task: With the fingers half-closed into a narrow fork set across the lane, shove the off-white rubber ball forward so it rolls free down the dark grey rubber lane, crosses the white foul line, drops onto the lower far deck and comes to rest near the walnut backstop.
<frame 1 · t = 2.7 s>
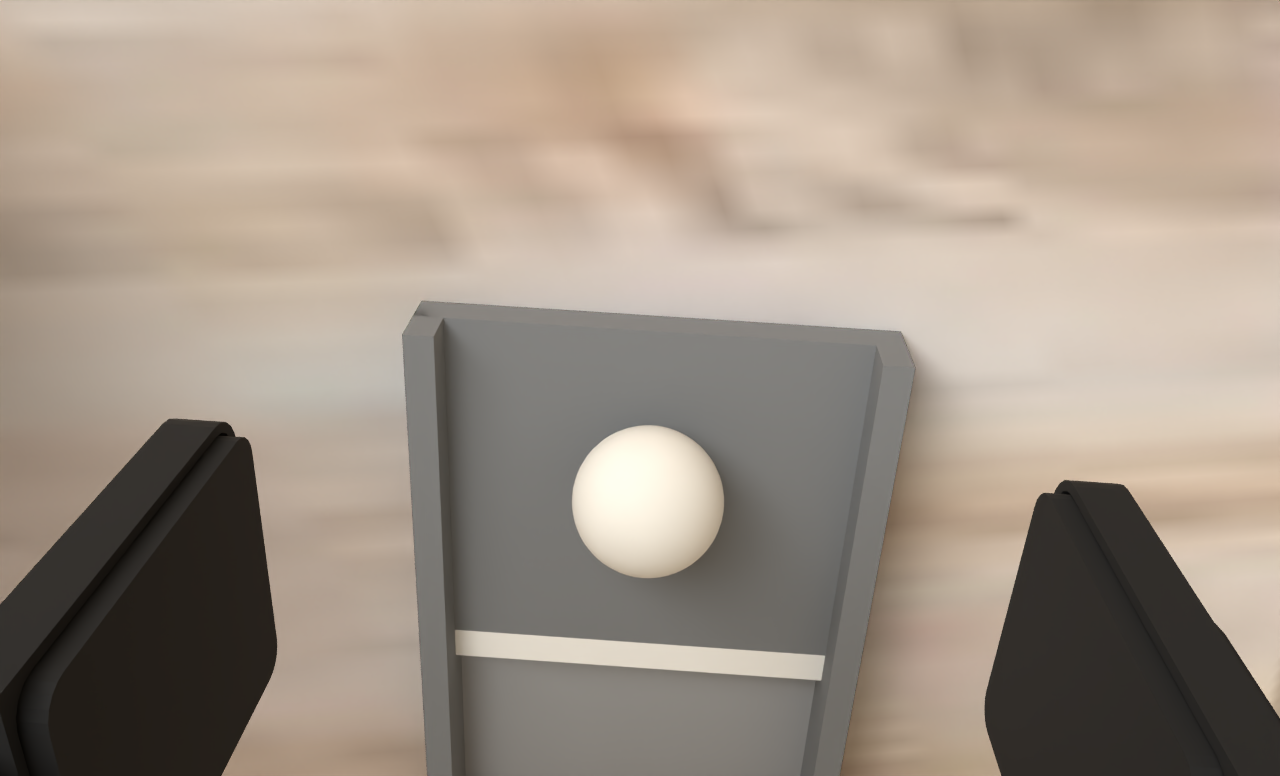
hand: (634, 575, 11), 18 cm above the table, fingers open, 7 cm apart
ball: (648, 501, 29), point 3 cm above the table, touching lane
lane: (641, 608, 34), on the table
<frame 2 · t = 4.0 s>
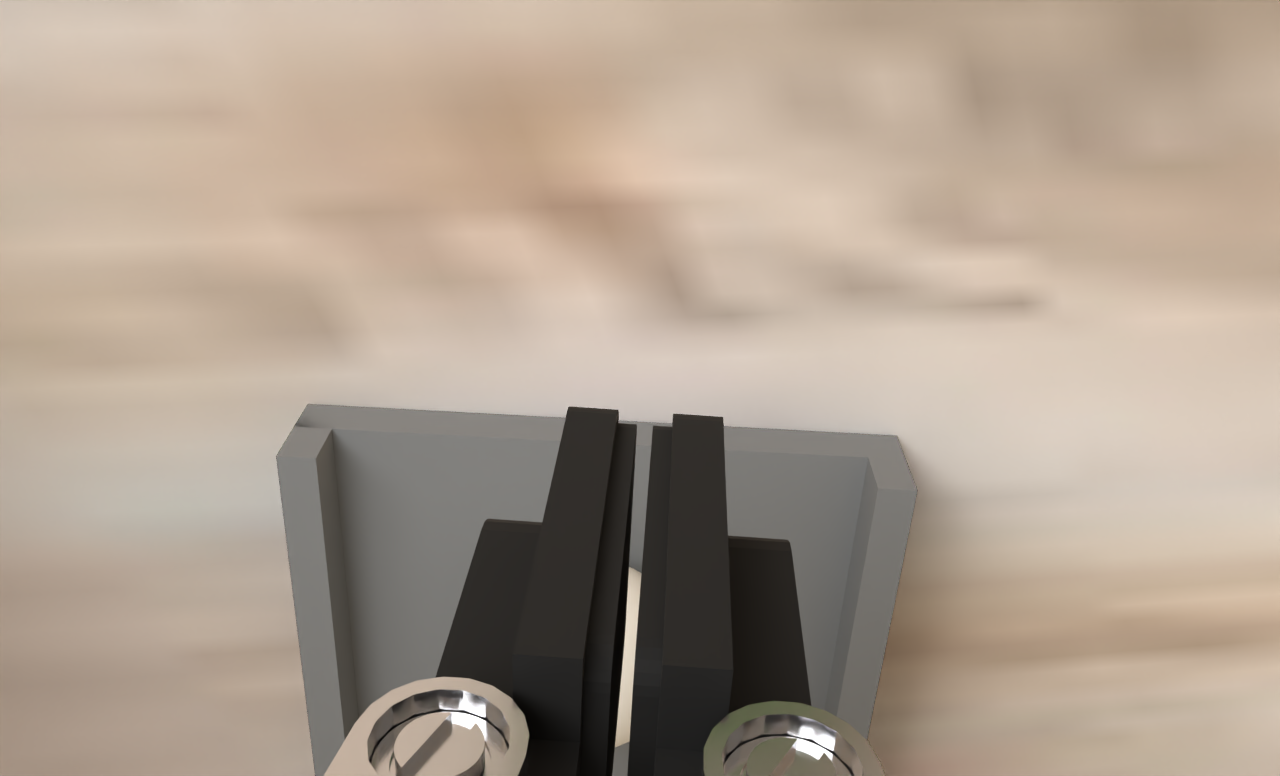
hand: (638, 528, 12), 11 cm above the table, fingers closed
ball: (589, 652, 23), point 3 cm above the table, touching lane
lane: (589, 750, 29), on the table
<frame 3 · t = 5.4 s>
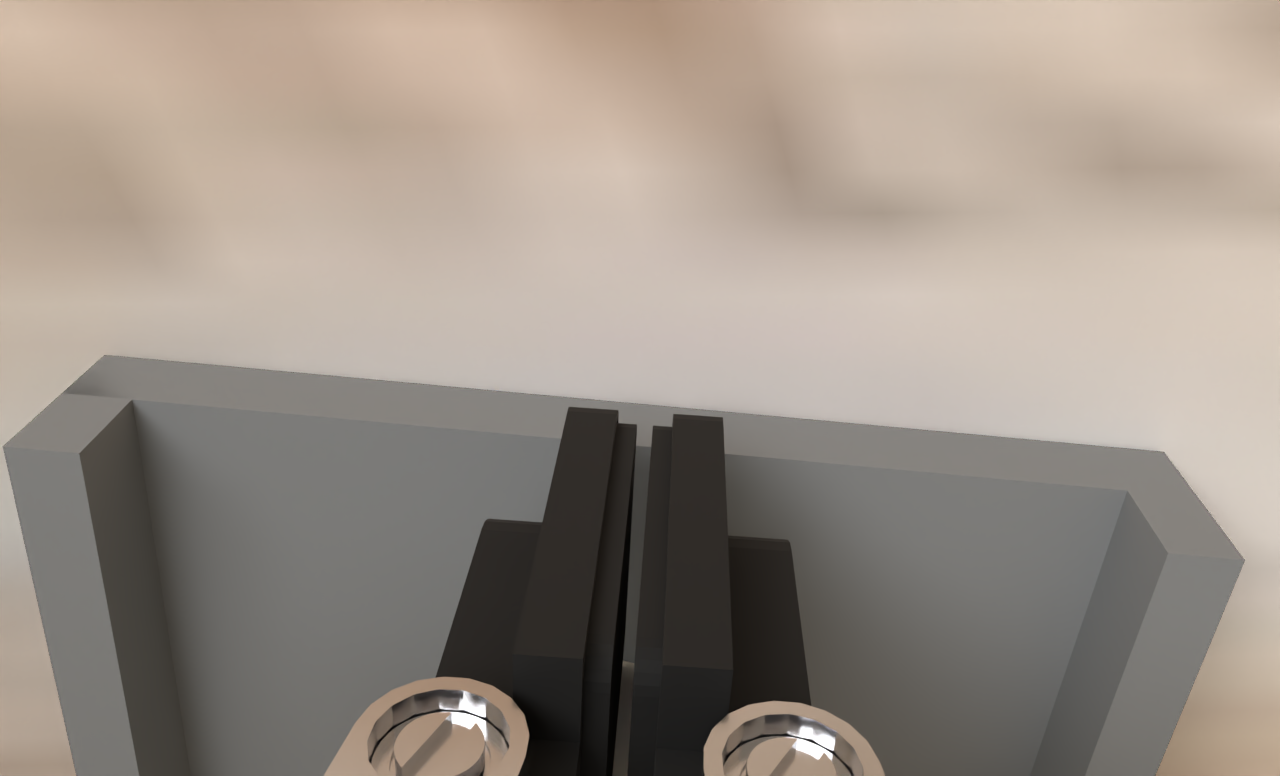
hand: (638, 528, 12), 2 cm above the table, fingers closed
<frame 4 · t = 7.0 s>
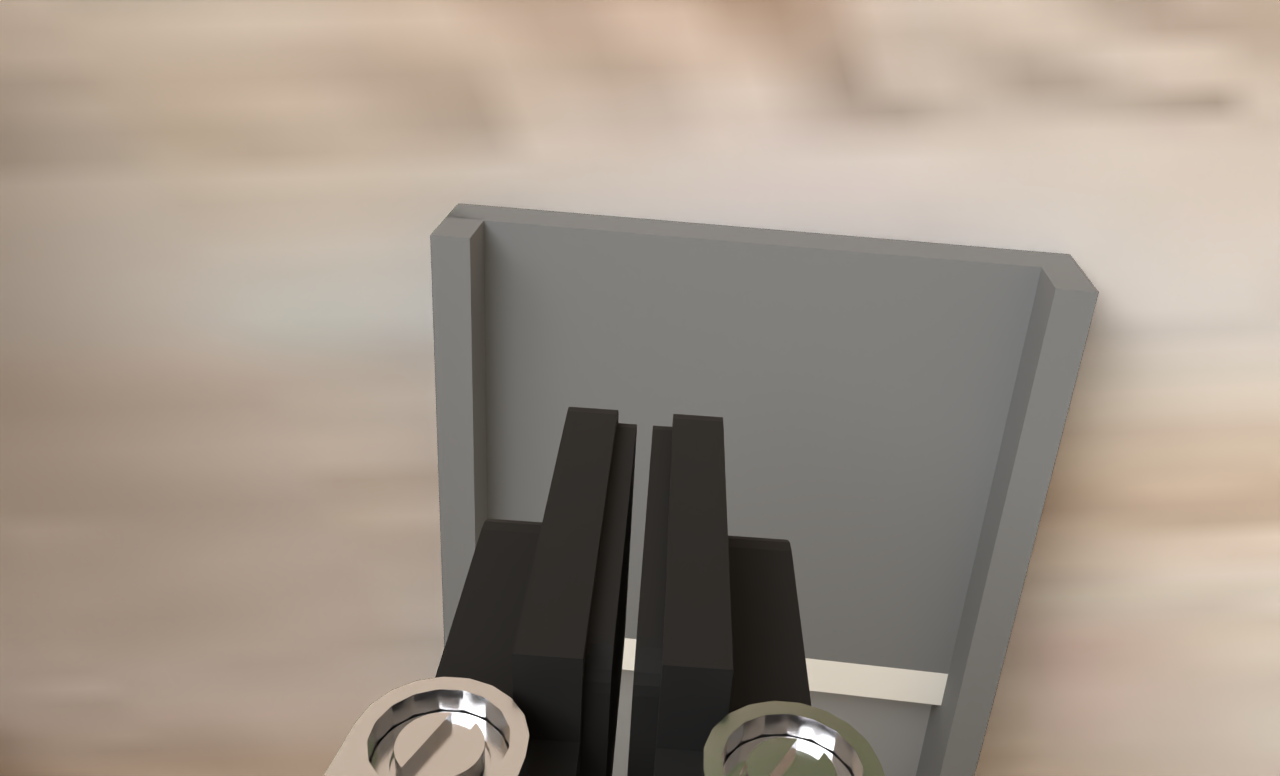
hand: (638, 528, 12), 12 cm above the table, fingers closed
lane: (718, 606, 28), on the table
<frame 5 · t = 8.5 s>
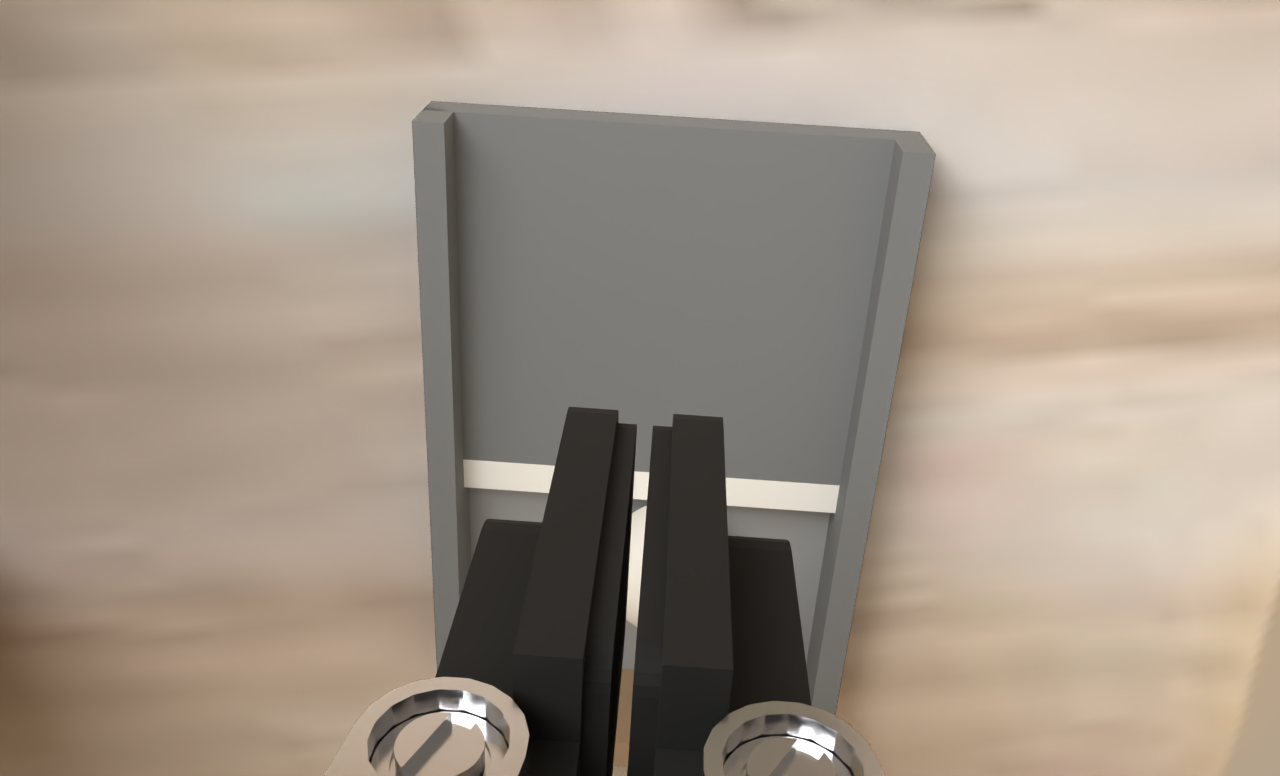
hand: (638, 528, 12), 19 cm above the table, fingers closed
ball: (668, 568, 33), point 2 cm above the table, tilted 98°, touching lane
lane: (653, 441, 33), on the table
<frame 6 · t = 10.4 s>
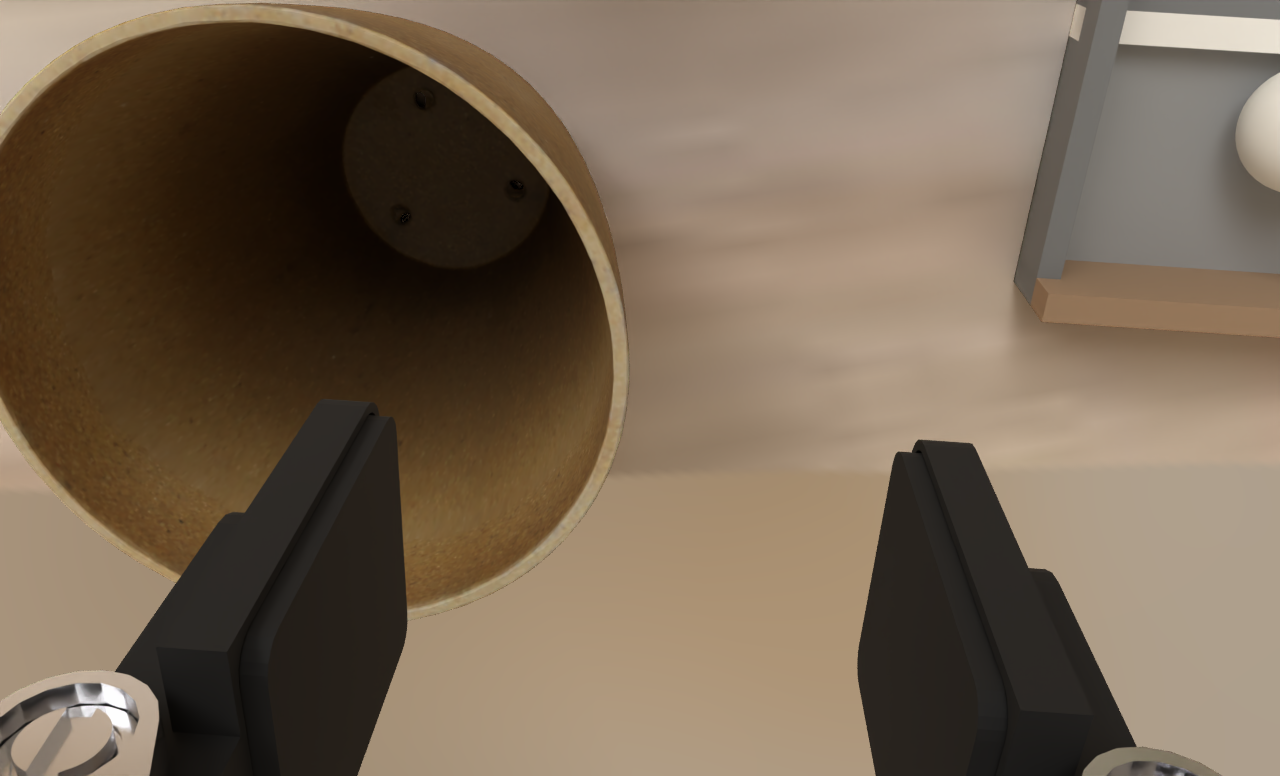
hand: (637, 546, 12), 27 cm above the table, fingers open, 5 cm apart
plant pot: (444, 160, 38), on the table
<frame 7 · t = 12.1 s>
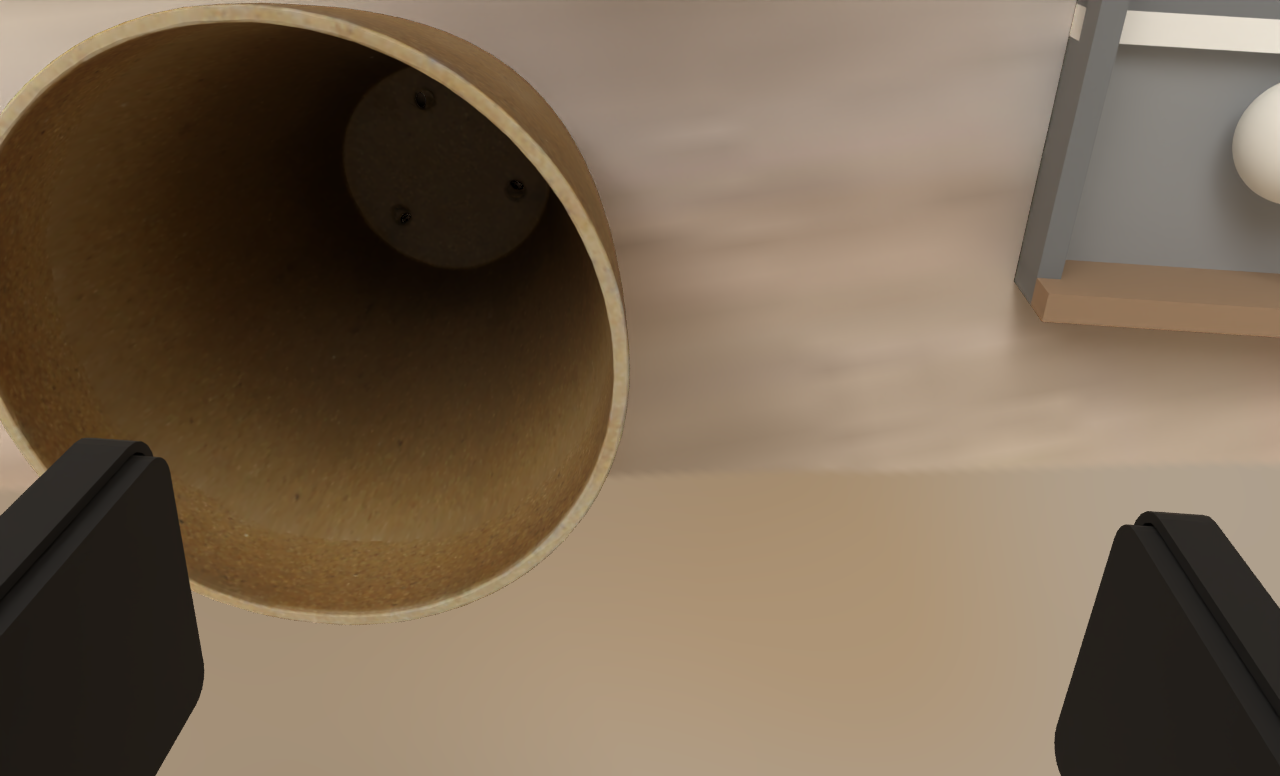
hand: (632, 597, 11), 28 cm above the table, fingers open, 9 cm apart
plant pot: (444, 160, 38), on the table
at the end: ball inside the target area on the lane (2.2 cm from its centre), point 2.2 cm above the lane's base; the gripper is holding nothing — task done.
